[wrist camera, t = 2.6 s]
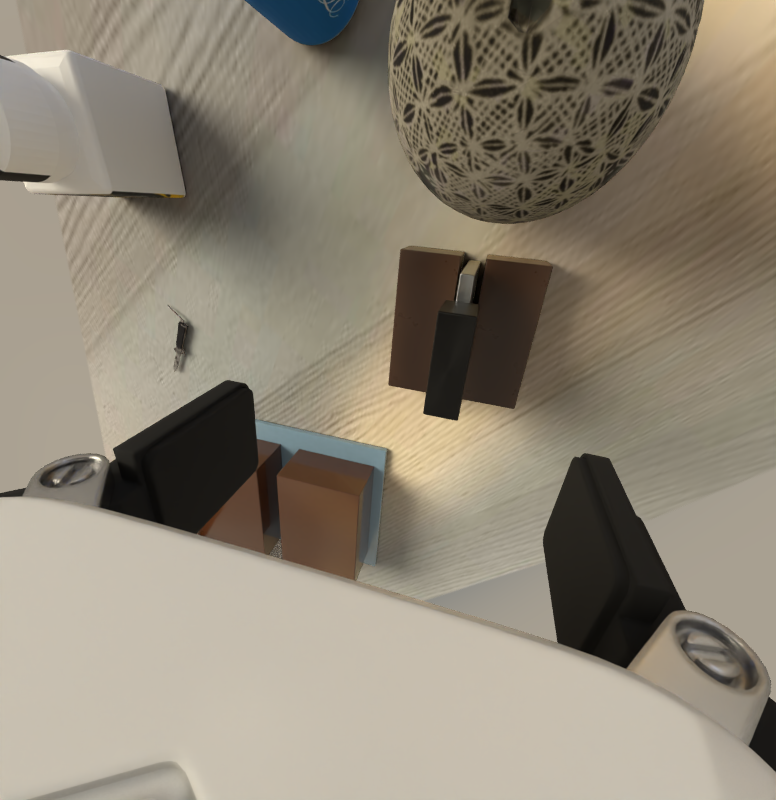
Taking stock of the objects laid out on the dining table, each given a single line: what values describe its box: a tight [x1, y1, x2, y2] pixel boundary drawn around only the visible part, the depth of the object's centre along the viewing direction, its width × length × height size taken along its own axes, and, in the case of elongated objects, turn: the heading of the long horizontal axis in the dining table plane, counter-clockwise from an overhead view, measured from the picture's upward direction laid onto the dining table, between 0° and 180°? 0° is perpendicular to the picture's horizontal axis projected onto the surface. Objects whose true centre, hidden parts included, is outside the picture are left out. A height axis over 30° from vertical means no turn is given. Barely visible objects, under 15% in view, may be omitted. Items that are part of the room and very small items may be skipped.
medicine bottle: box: [0, 50, 186, 198], centre depth 24 cm, size 7×7×12 cm
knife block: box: [389, 246, 553, 409], centre depth 27 cm, size 10×10×3 cm
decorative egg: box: [388, 0, 704, 224], centre depth 16 cm, size 12×12×15 cm
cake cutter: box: [423, 260, 480, 420], centre depth 24 cm, size 2×9×10 cm, turn 175°
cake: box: [199, 419, 387, 581], centre depth 39 cm, size 20×16×5 cm
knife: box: [168, 305, 188, 372], centre depth 36 cm, size 6×1×3 cm
